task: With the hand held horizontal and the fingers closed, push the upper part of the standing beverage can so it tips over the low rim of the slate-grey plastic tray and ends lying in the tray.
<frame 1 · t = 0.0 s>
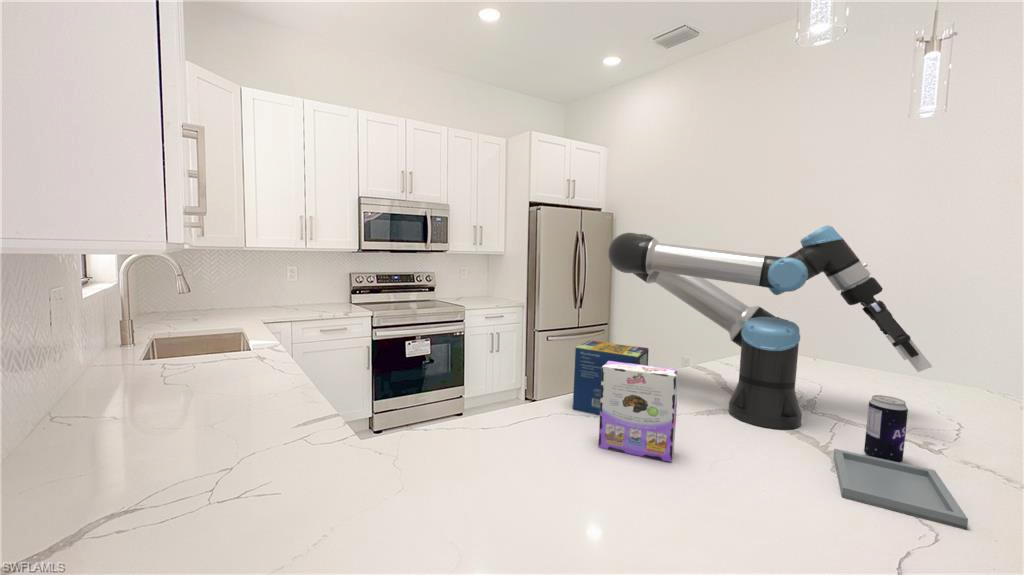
hand: (917, 363, 100), 15 cm above the table, tool tilted 35°, fingers open, 13 cm apart
protein box: (609, 410, 107), on the table
candy box: (635, 450, 86), on the table
tray: (890, 487, 74), on the table
beverage can: (882, 461, 85), on the table
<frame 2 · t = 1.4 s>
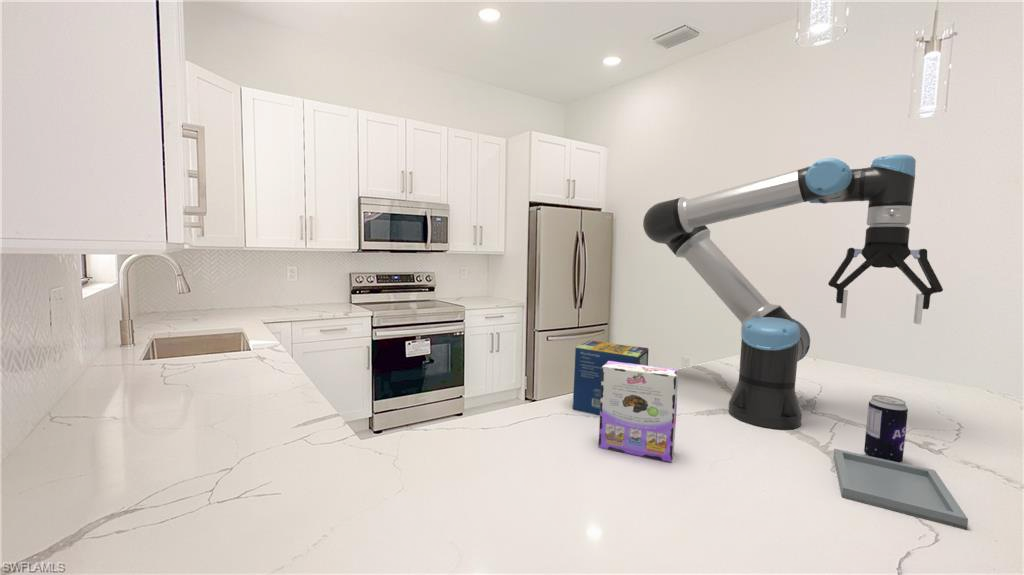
hand: (878, 320, 101), 25 cm above the table, tool pointing down, fingers open, 12 cm apart
nothing on the table moved.
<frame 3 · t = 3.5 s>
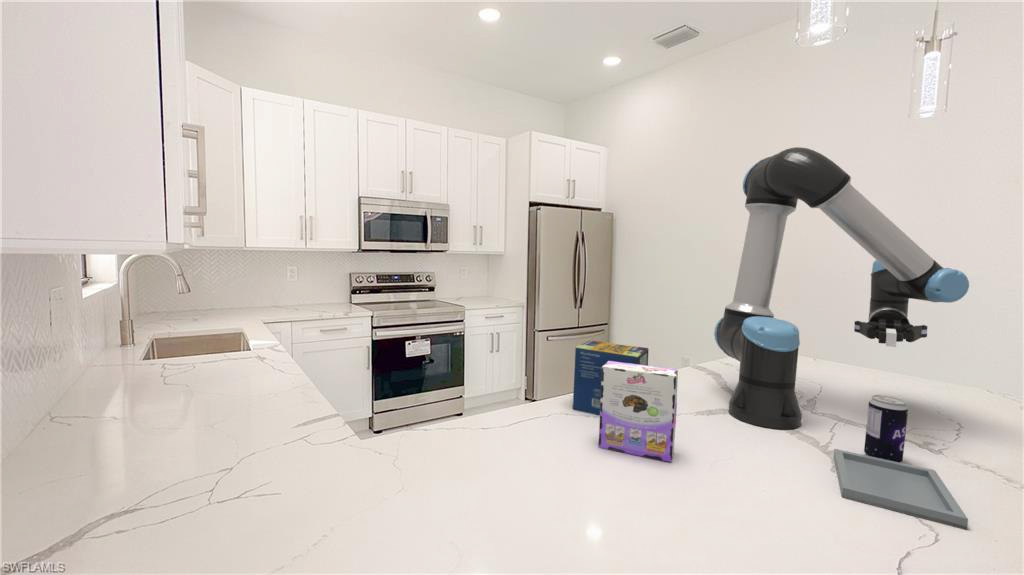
hand: (891, 339, 88), 22 cm above the table, tool horizontal, fingers closed
nothing on the table moved.
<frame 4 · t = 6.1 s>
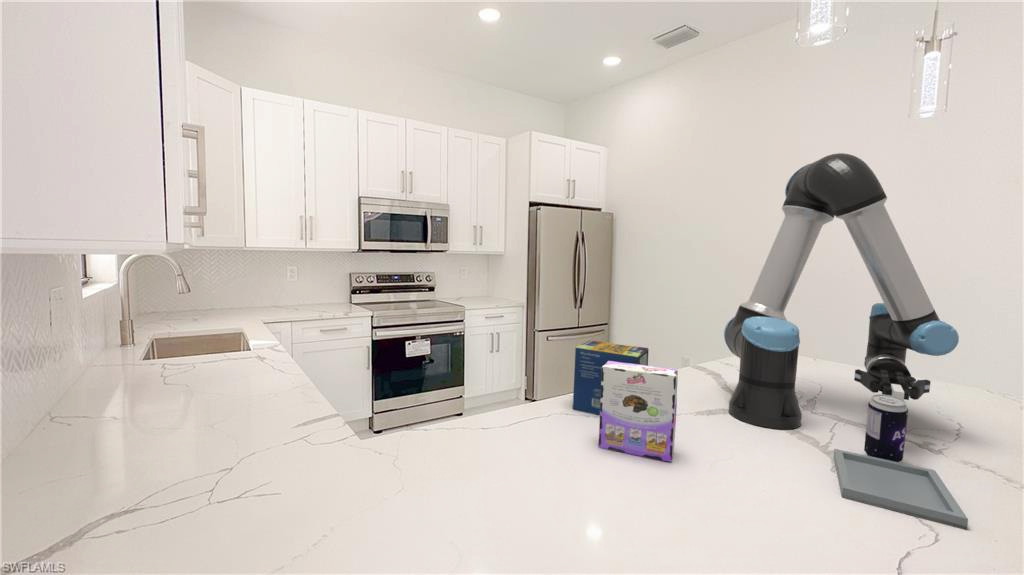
hand: (898, 398, 84), 12 cm above the table, tool horizontal, fingers closed
beverage can: (882, 459, 84), on the table, touching gripper
everything else where it was.
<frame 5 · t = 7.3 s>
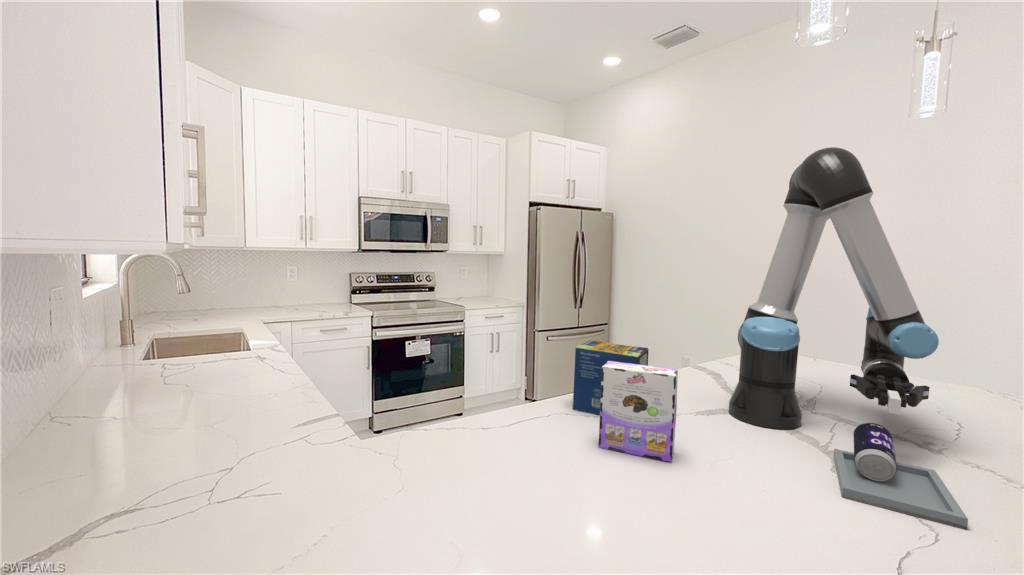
hand: (895, 406, 79), 12 cm above the table, tool horizontal, fingers closed
beverage can: (872, 434, 84), point 5 cm above the table, touching tray
everything else where it was.
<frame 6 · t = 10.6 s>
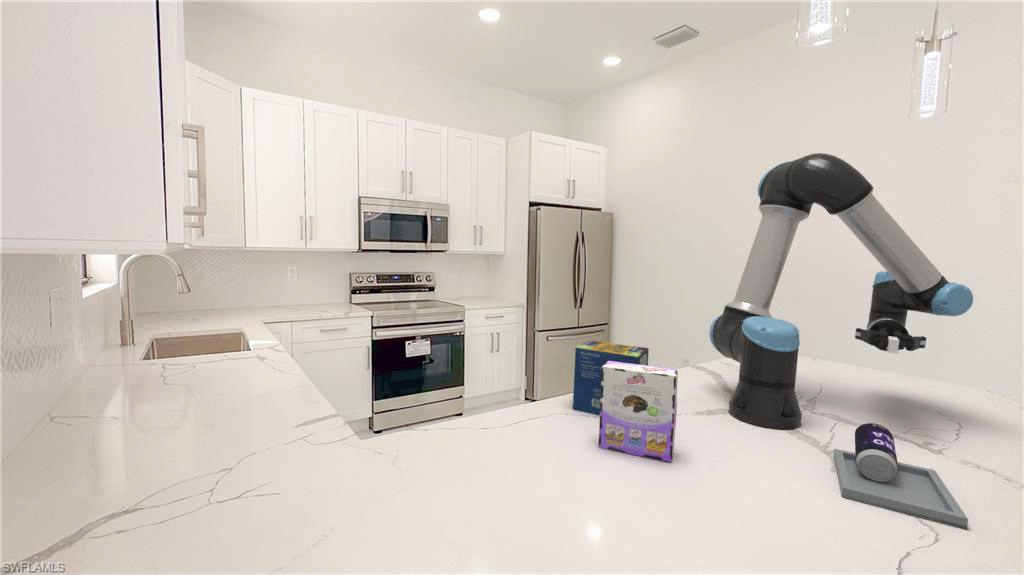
hand: (893, 346, 91), 21 cm above the table, tool horizontal, fingers closed
nothing on the table moved.
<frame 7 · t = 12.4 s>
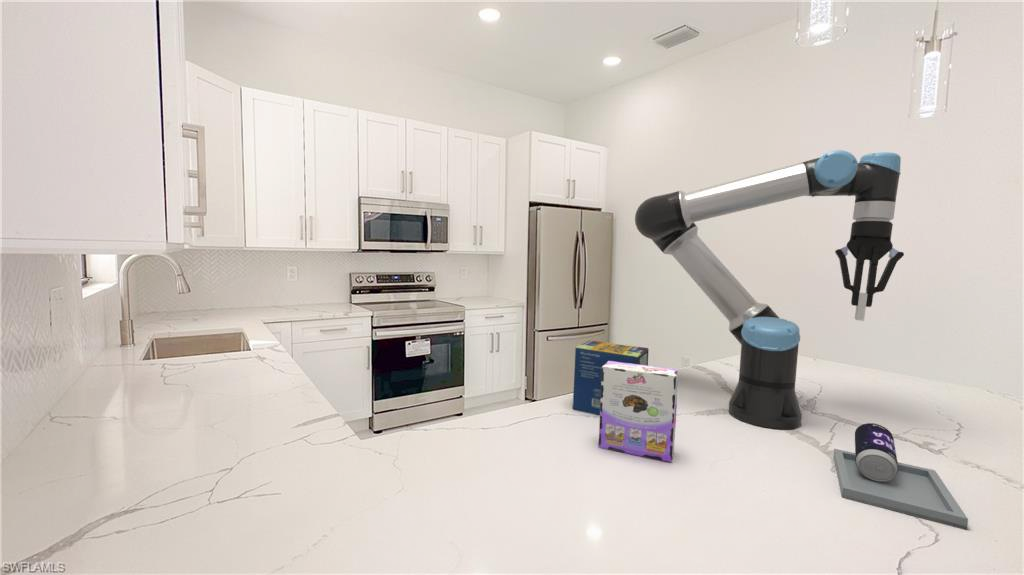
hand: (859, 319, 106), 24 cm above the table, tool pointing down, fingers closed
nothing on the table moved.
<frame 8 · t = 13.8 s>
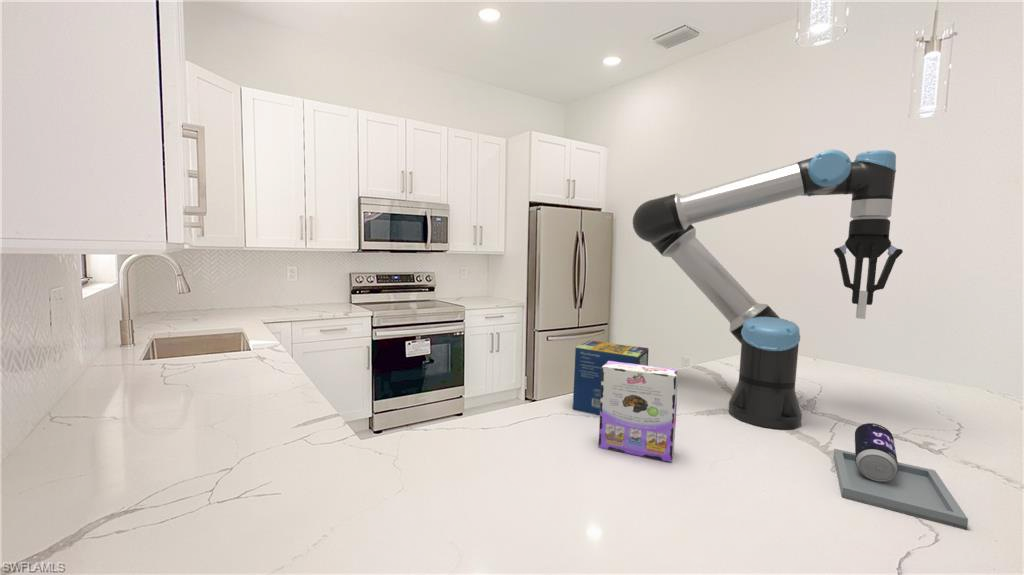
hand: (860, 317, 106), 24 cm above the table, tool pointing down, fingers closed
nothing on the table moved.
at the end: beverage can tilted 99°; beverage can inside the target area (11.6 cm from its centre), point 5.0 cm above the table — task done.
